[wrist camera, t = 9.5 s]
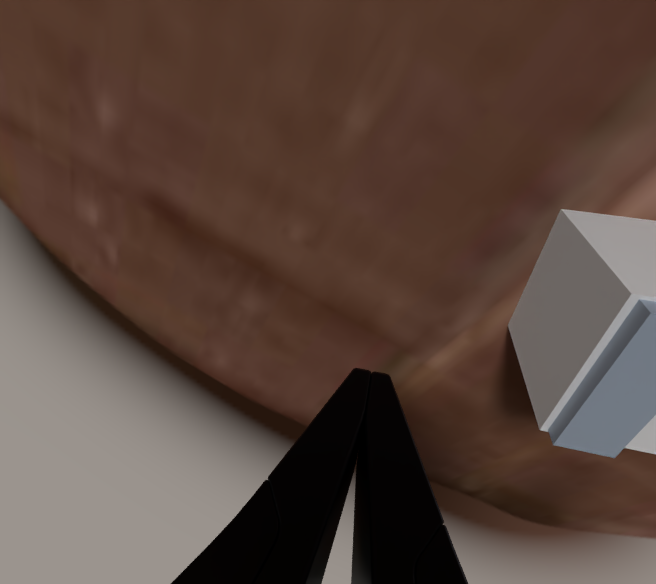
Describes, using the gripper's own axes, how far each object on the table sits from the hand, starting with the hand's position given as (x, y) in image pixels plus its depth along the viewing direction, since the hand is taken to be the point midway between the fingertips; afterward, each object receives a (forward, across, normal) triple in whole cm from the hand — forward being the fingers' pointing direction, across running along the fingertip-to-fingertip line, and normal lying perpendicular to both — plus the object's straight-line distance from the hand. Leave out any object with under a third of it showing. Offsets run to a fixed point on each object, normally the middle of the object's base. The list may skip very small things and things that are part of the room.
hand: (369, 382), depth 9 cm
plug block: (+7, -8, 0) cm, 11 cm away
